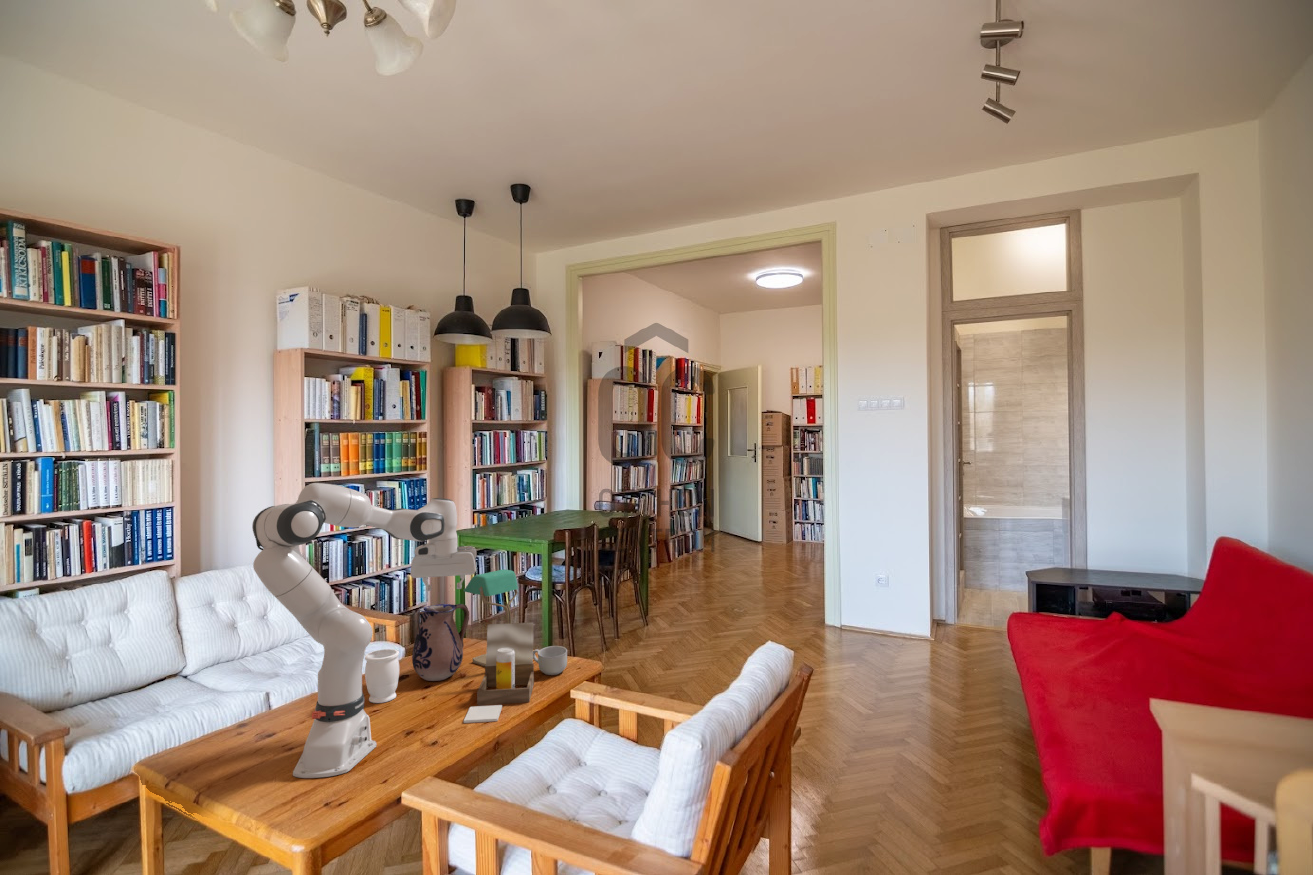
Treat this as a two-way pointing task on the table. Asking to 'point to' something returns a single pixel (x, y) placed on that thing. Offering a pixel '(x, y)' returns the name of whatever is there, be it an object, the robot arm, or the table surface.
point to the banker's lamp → (493, 593)
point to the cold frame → (522, 644)
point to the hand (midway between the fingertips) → (444, 589)
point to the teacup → (551, 659)
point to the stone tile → (483, 714)
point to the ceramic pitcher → (439, 642)
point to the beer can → (505, 668)
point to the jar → (382, 674)
